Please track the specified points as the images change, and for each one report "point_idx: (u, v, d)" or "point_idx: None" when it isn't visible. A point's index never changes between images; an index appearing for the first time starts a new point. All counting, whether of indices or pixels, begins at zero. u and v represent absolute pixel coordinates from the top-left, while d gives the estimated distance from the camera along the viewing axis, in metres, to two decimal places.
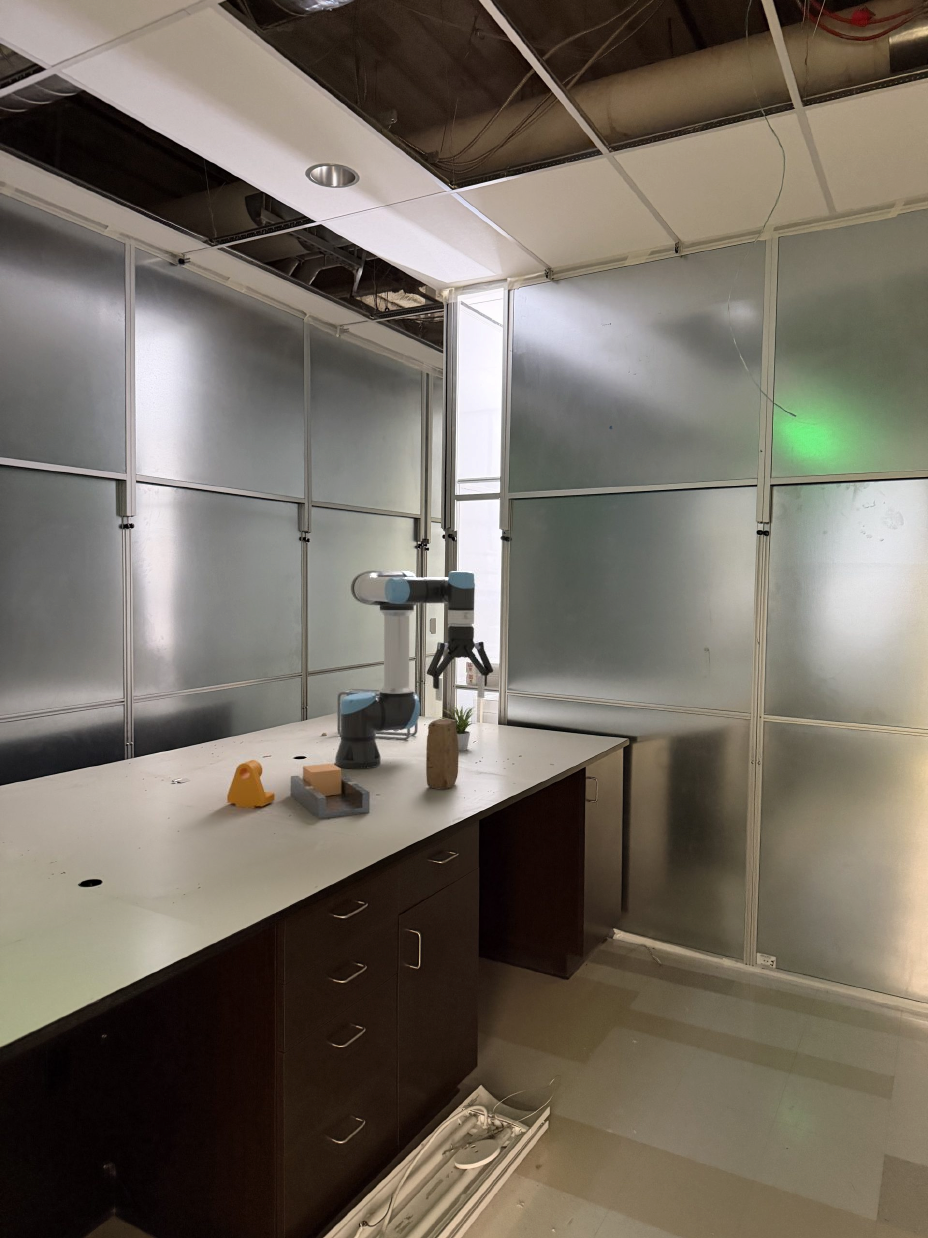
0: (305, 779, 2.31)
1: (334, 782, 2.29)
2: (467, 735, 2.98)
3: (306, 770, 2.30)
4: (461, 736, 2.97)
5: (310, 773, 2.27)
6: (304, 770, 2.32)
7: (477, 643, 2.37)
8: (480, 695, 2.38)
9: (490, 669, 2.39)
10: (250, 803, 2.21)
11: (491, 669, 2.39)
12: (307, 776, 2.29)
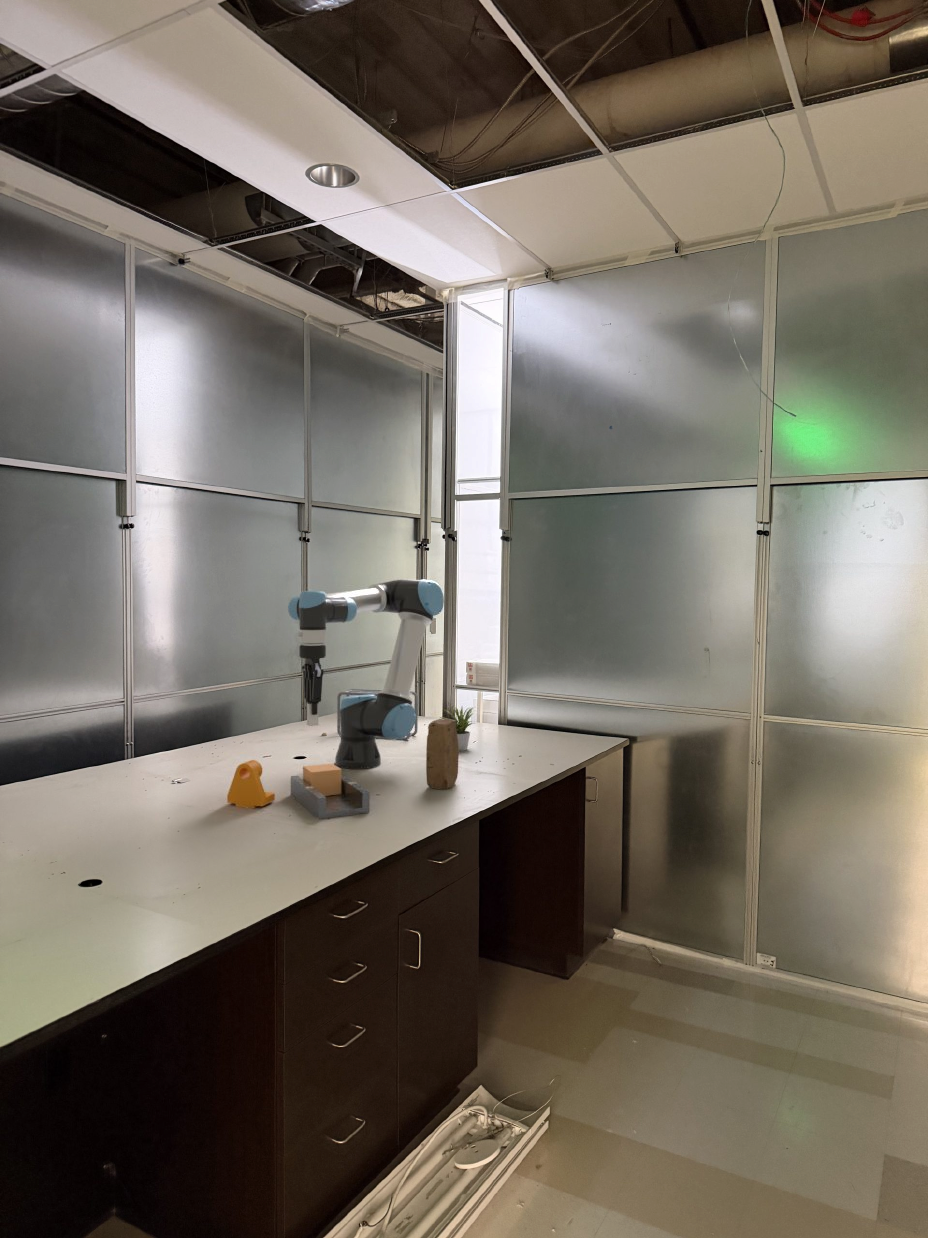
0: (305, 779, 2.31)
1: (334, 782, 2.29)
2: (467, 735, 2.98)
3: (306, 770, 2.30)
4: (461, 736, 2.97)
5: (310, 773, 2.27)
6: (304, 770, 2.32)
7: (316, 669, 2.33)
8: None
9: (312, 698, 2.35)
10: (250, 803, 2.21)
11: (312, 699, 2.34)
12: (307, 776, 2.29)
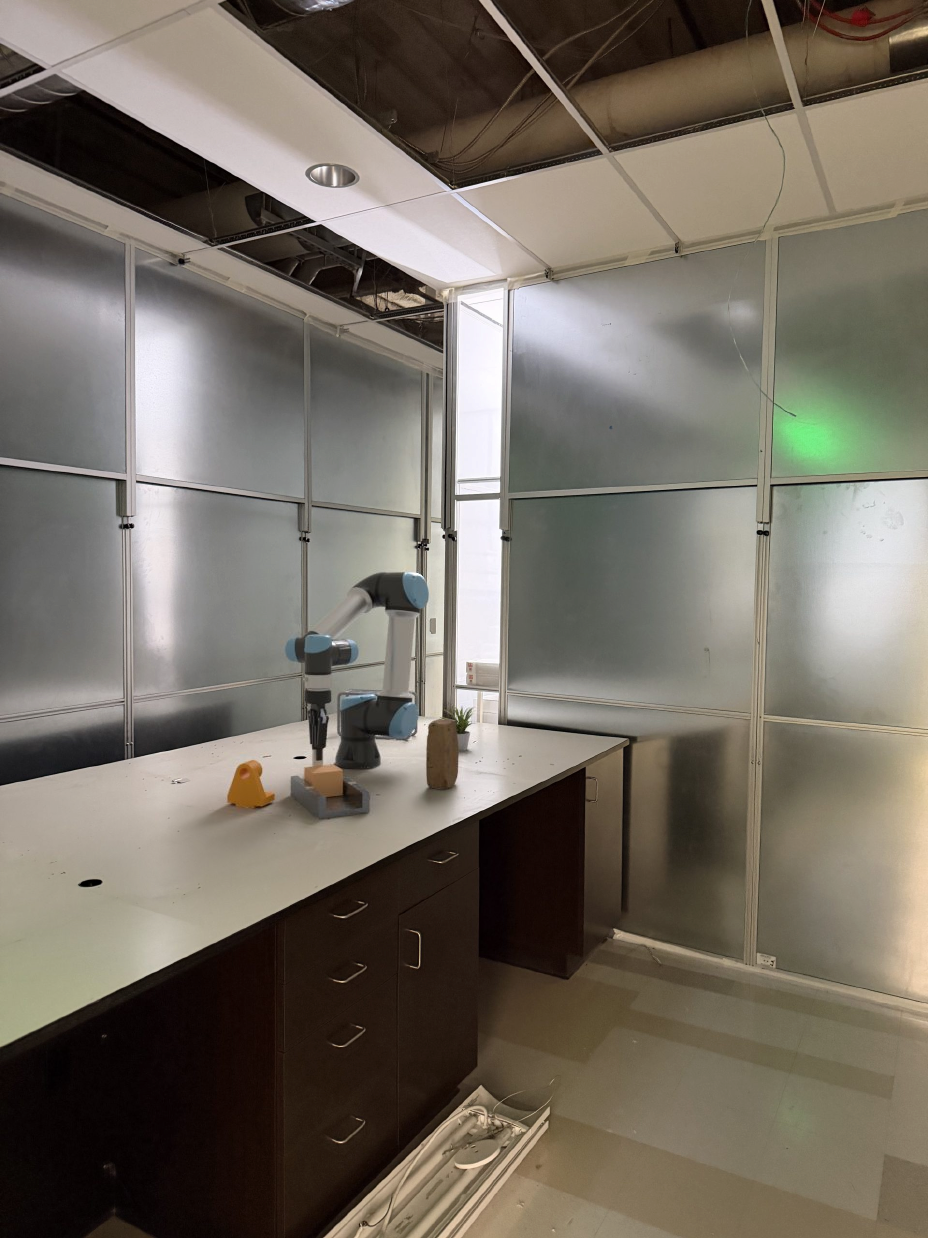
0: (306, 780, 2.30)
1: (336, 783, 2.28)
2: (467, 735, 2.98)
3: (307, 771, 2.29)
4: (461, 736, 2.97)
5: (311, 774, 2.25)
6: (305, 771, 2.30)
7: (321, 715, 2.29)
8: None
9: (316, 744, 2.31)
10: (250, 803, 2.21)
11: (317, 745, 2.30)
12: (309, 777, 2.28)
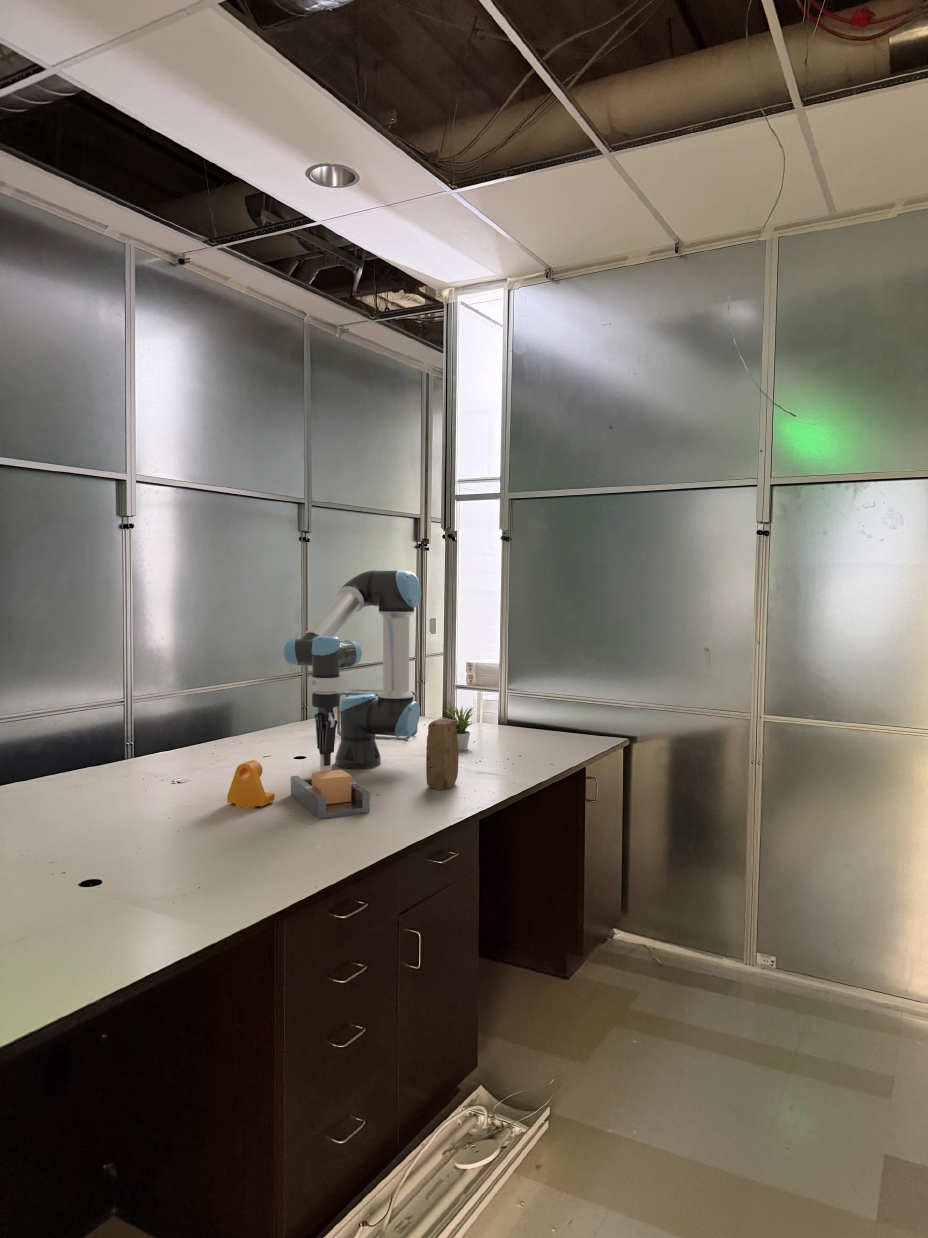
0: (314, 786, 2.23)
1: (344, 789, 2.22)
2: (467, 735, 2.98)
3: (315, 777, 2.22)
4: (461, 736, 2.97)
5: (319, 780, 2.19)
6: (313, 776, 2.24)
7: (329, 719, 2.23)
8: None
9: (324, 749, 2.24)
10: (250, 803, 2.21)
11: (324, 750, 2.24)
12: (316, 782, 2.21)
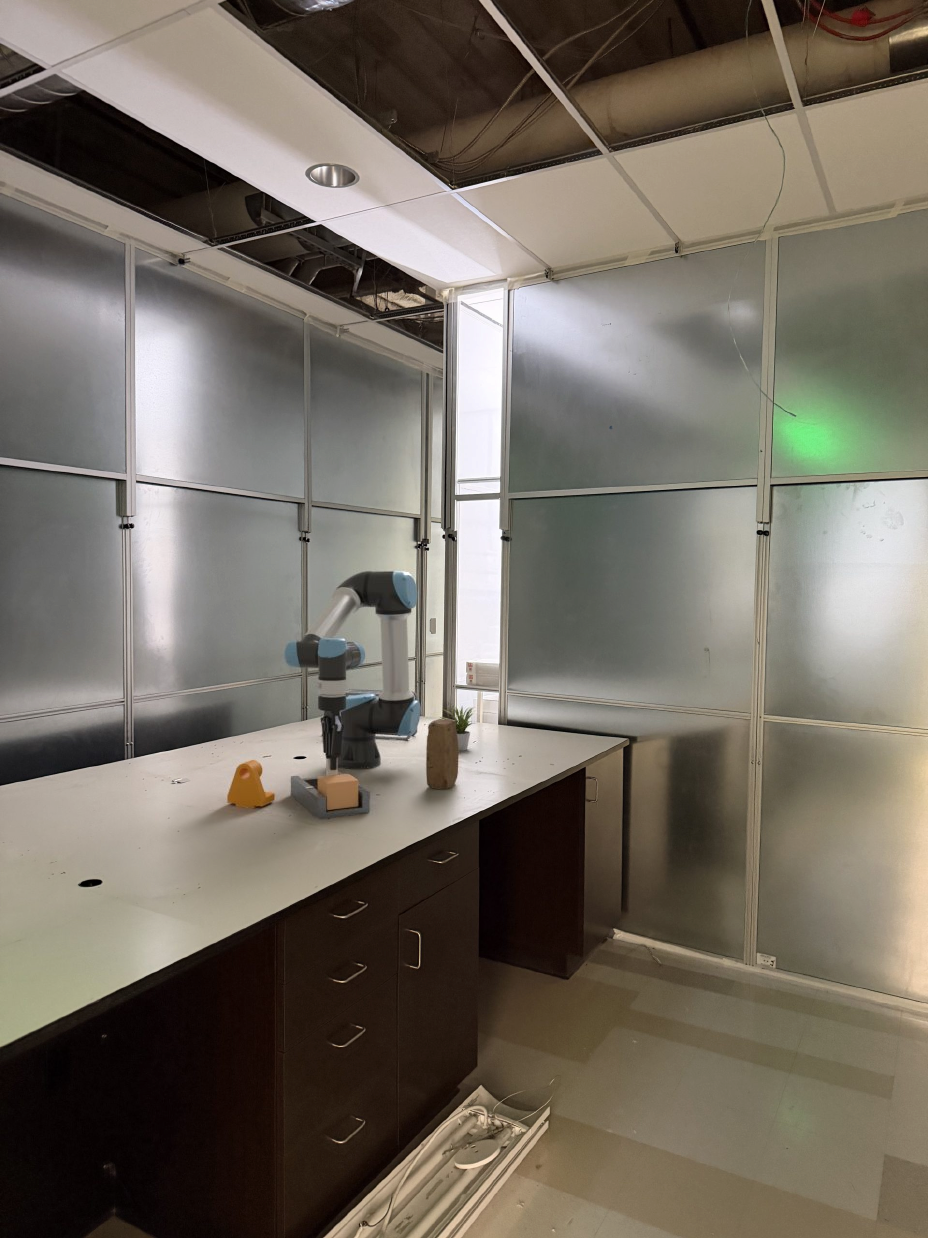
0: (320, 790, 2.19)
1: (351, 794, 2.17)
2: (467, 735, 2.98)
3: (321, 781, 2.18)
4: (461, 736, 2.97)
5: (325, 784, 2.14)
6: (319, 781, 2.20)
7: (336, 723, 2.18)
8: None
9: (331, 753, 2.20)
10: (250, 803, 2.21)
11: (331, 754, 2.19)
12: (322, 787, 2.17)
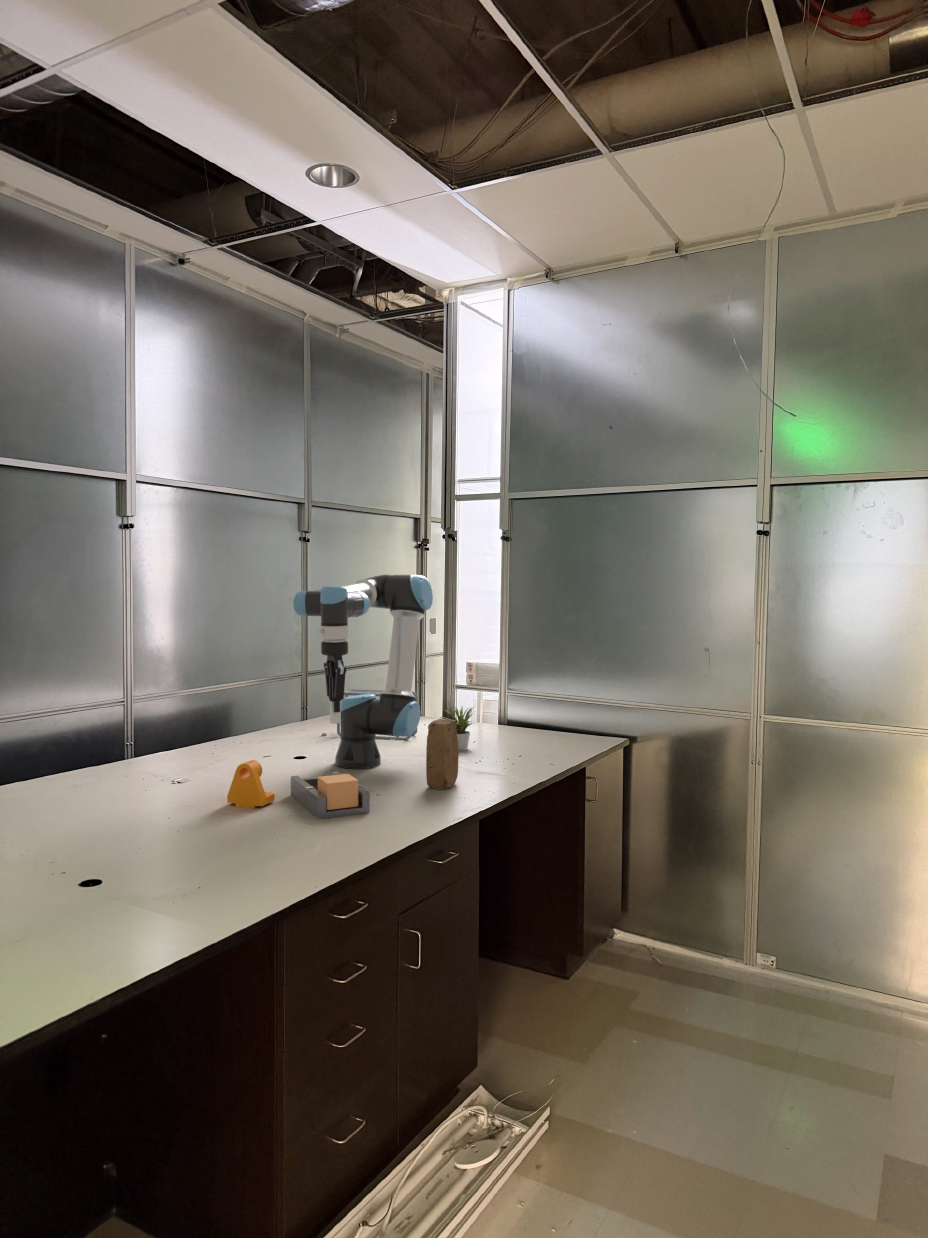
0: (320, 790, 2.19)
1: (351, 794, 2.17)
2: (467, 735, 2.98)
3: (321, 781, 2.18)
4: (461, 736, 2.97)
5: (326, 784, 2.14)
6: (319, 781, 2.19)
7: (339, 666, 2.28)
8: None
9: (334, 695, 2.30)
10: (250, 803, 2.21)
11: (334, 696, 2.29)
12: (323, 787, 2.17)
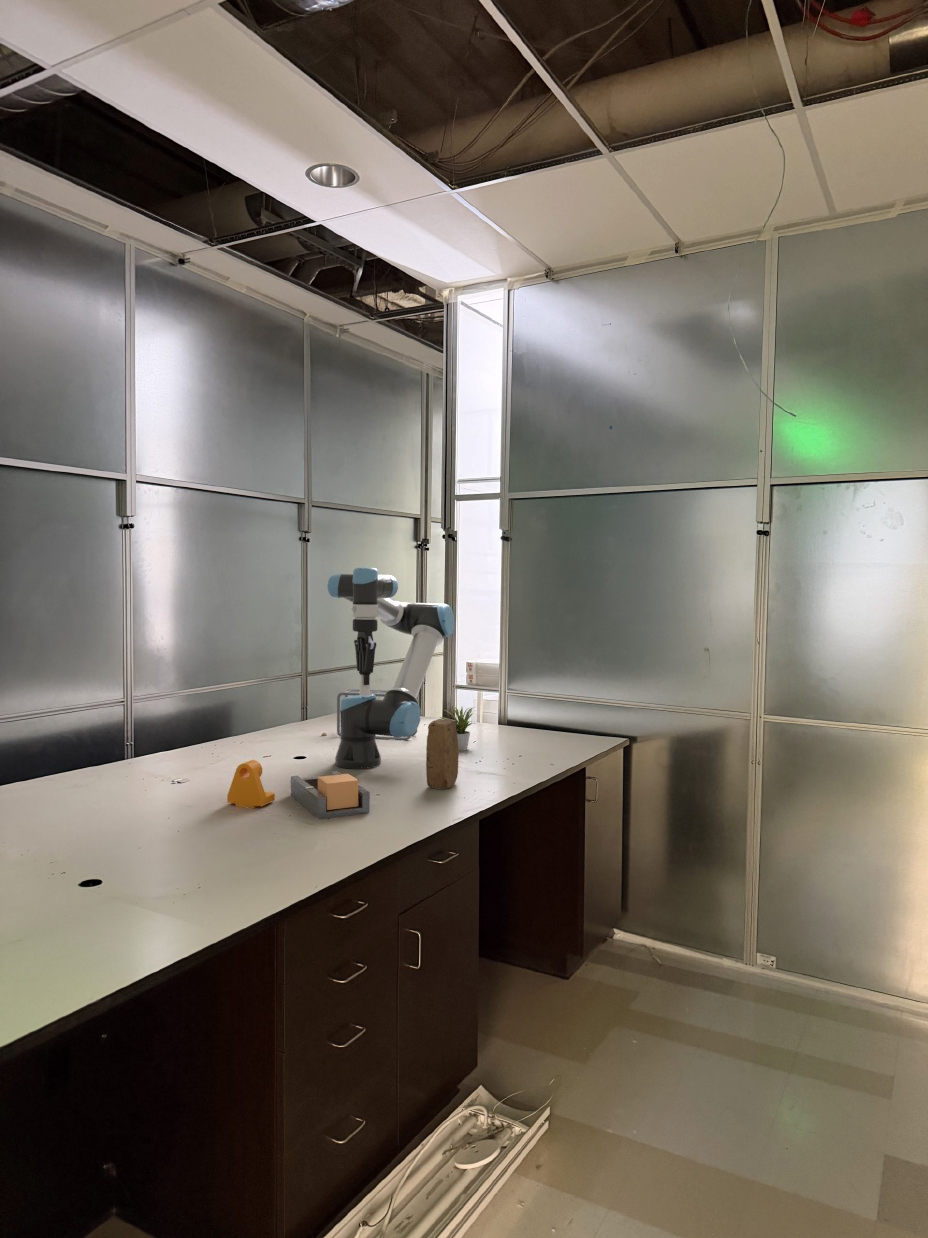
0: (320, 790, 2.19)
1: (351, 794, 2.17)
2: (467, 735, 2.98)
3: (321, 781, 2.18)
4: (461, 736, 2.97)
5: (326, 784, 2.14)
6: (319, 781, 2.19)
7: (369, 642, 2.46)
8: None
9: (364, 669, 2.47)
10: (250, 803, 2.21)
11: (365, 670, 2.47)
12: (323, 787, 2.17)
